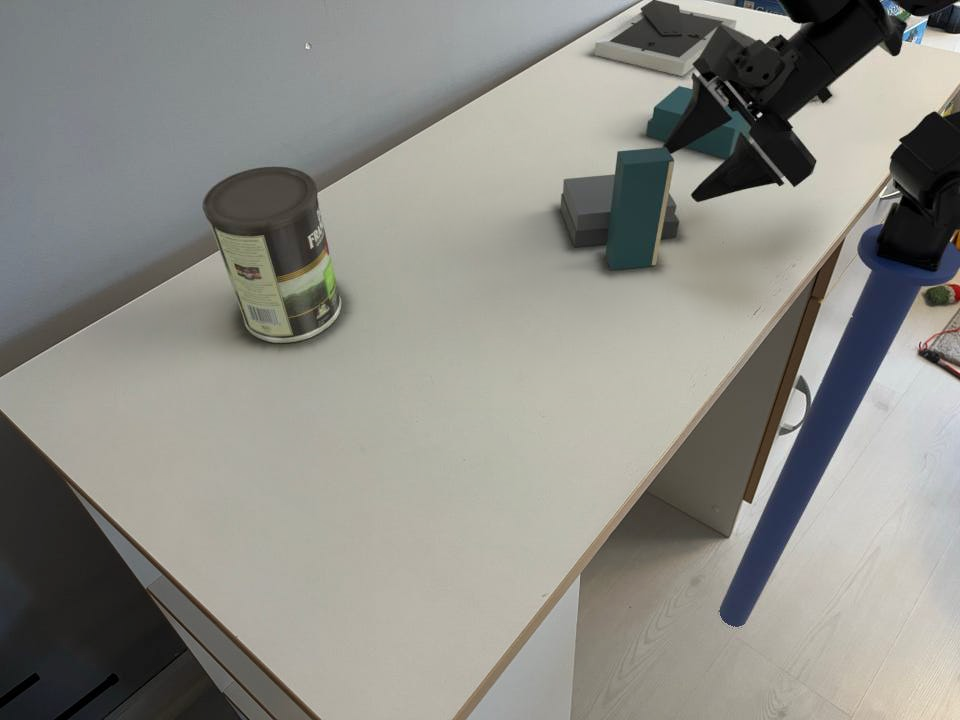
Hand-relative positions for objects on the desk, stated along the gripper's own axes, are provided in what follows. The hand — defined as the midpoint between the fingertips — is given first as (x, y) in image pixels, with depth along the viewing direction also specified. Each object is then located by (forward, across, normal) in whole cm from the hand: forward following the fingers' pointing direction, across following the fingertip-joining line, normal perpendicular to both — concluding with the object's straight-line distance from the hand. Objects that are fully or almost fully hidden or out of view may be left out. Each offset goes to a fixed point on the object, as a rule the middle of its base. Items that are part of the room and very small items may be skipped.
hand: (678, 174), depth 72 cm
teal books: (-2, -26, +17) cm, 31 cm away
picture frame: (-6, -58, +20) cm, 61 cm away
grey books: (+10, -8, +5) cm, 13 cm away
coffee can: (+36, +2, -21) cm, 42 cm away
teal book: (+10, 0, +5) cm, 11 cm away
